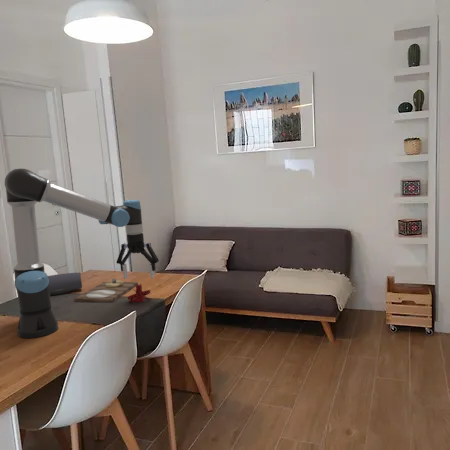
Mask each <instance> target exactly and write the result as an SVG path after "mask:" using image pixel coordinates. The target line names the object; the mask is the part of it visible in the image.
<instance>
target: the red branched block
mask: <svg viewBox="0 0 450 450" xmlns="http://www.w3.org/2000/svg"><path fill="white" fill-rule="evenodd" d="M132 290H133V291H134V292H135V293H133V294H130V295H129V296H127V299H128V303H144V301H146V299H147V296H148V295H150V294H151V290H150V289H148V290H143V287H142V284H141V283H140V284H138V285H136V286H135V289H132Z"/></svg>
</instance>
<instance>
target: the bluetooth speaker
mask: <svg viewBox="0 0 450 450" xmlns="http://www.w3.org/2000/svg"><path fill="white" fill-rule="evenodd" d="M81 274H82V273H81V272H67V273H58V274H52V275H47V276H48V279H49V291H50V296H54V295H61V294H67V293H71V291H74V290H75V291H76V290H78V289H82V288H83V283H82V275H81Z"/></svg>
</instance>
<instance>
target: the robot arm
mask: <svg viewBox="0 0 450 450" xmlns="http://www.w3.org/2000/svg"><path fill="white" fill-rule="evenodd" d="M4 188H5V192H6V201H7V204H8V205H10V206H11V210H12V221H13V222H12V223H13V231H14V242H15V243H14V244H15V251H16V262H17V263H16V265H15V266H14V267H13V272H14V286H15V289H16V294H17V299H18V308H19V320H18V323H17V324H18V325H17V329H16V331H17V336H18V338H23V339H34V338H40V337H45V336H47V335H50V334H52V333H55V332H56V331H57V330H58V329H59V322H58V320H57V318H56V316H55V314H54V311H53V309H52V302H51V301H52V300H51V295H50V291H49V279H48V276H49V275H48V274H47V273H46V272H45V264H44V263H43V262H41V260H40V251H39V249H40V248H39V241H38V240H39V239H38V229H37V218H36V208H35V207H36V206H35V205H36V204H37V203H42V202H44V203H45V202H46V203H48V204H52V205H54V206H57V207H60V208H63V209H65V210H69V211H72V212H74V213H78V214H81V215H83V216H87V217H90V218H92V219H96V220H97V221H98V223H99V225H113V226H115V227H118V228H123V227H125V230H126V231H125V232H126V233H127V234H126V240H127V243H122V244H121V245H120V246H121V247H120V252H119V254H118V257H117V260H116V264H118V265H120V269H121V270H120V271H121V272H122V276H123V279H127V278H129V276H128V268H127V267H128V266H127V263H126V262H127V261H128V259H129V258H130V256H131V255H132V254H140V253H141V255H142V256H143V257H144V258H145V259H146V260H147V261H148V262H149V263H150V264H149V273H150V279H154V278H155V271H156V264H157V263H158V262H159V261H160V259H159V258H158V256H157V255H156V253H155V251H154V249H153V248H152V245H151V242H147V243H145V240H144V238H145V237H144V233H143V232H144V228H143V218H142V216H143V215H142V207H141V202H140V200H139V199H128V200H124V201H123V205H117V206H116V205H111V204H108V203H106V202H104V201H101V200H98V199H96V198H92V197H90V196H87V195H84V194H81V193H78V192H76V191H73V190H71V189H70V190H69V188H65V187H62V186H60V185H57V184H54V183H52V182H50V179H48V178H45V177H43V176H40V175H38V174H37V173H35V172H33V171H32V170H30V169H27V168H14V169H12V170H11V171H9V172H8V173H7V174H6V176H5V178H4ZM127 248H128V251H127V253H126V254H125V252H126V249H127ZM145 248H146V249H145ZM124 255H125V256H124Z"/></svg>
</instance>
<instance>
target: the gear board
mask: <svg viewBox="0 0 450 450" xmlns="http://www.w3.org/2000/svg"><path fill="white" fill-rule="evenodd" d="M136 285H139V283H138V281H122V280H117V279H116V278H112V279H111V281H103V282H101V283H99V284H97V285H96V286H94V287H92V288H91V289H89V290H87V291H85V292H83V293H82V294H80V295H78V296H77V297H75V298H74V299H73V301H74V302H75V303H76V302H77V303H114V302H116V301H117V300H118V299H119V298H121V297H122V296H124V295H125V294H127V293H128V292H130V291H132V290H133V289H134V288H136Z"/></svg>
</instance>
